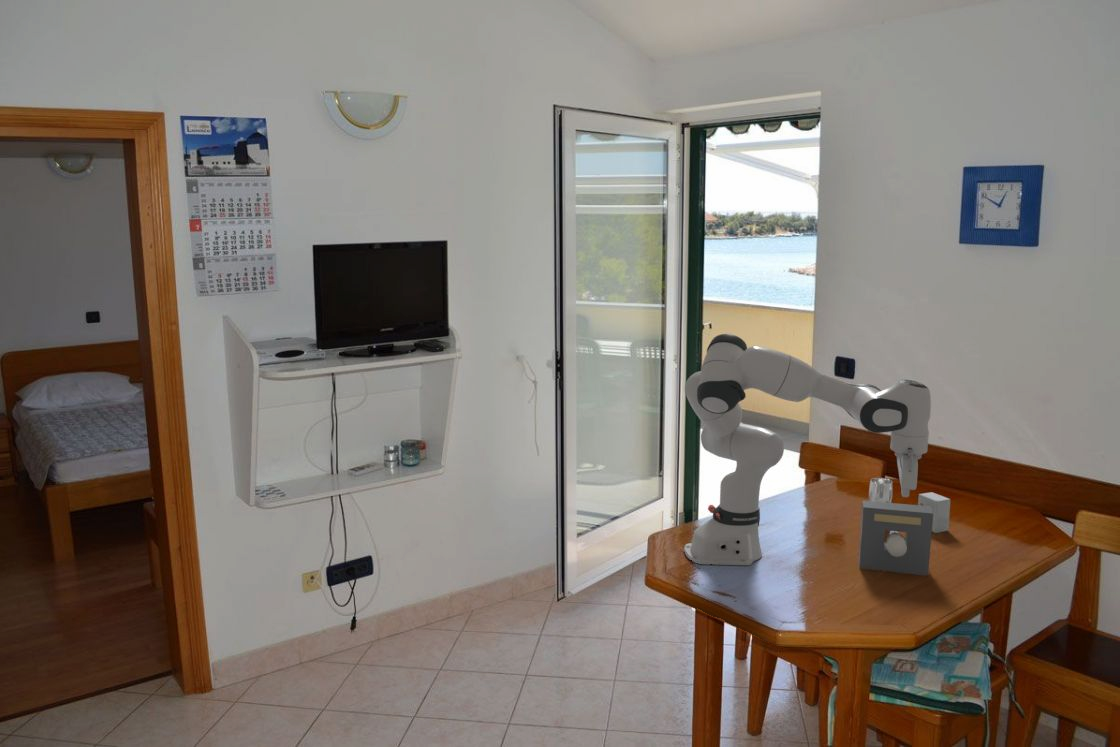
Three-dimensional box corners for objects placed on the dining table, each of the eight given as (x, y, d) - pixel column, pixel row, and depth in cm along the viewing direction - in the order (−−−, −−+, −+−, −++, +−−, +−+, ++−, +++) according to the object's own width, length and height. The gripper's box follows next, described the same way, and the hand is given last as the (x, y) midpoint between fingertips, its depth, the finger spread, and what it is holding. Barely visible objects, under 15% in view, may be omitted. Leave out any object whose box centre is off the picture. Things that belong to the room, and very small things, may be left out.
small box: (948, 531, 279) (951, 499, 277) (934, 533, 277) (937, 501, 275) (929, 522, 287) (932, 491, 285) (915, 525, 285) (918, 493, 283)
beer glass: (891, 530, 280) (894, 484, 277) (868, 529, 281) (871, 483, 278) (888, 523, 286) (891, 478, 284) (865, 521, 288) (868, 476, 285)
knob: (906, 557, 242) (907, 540, 241) (886, 555, 243) (887, 538, 242) (902, 543, 252) (904, 526, 251) (884, 541, 253) (885, 524, 252)
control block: (928, 576, 245) (933, 514, 242) (859, 568, 250) (863, 507, 247) (925, 567, 251) (930, 506, 248) (858, 560, 256) (862, 500, 253)
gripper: (925, 456, 215) (920, 510, 218) (919, 434, 234) (915, 484, 237) (897, 453, 217) (893, 507, 220) (894, 432, 236) (890, 482, 239)
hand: (905, 495), depth 229 cm, fingers closed
